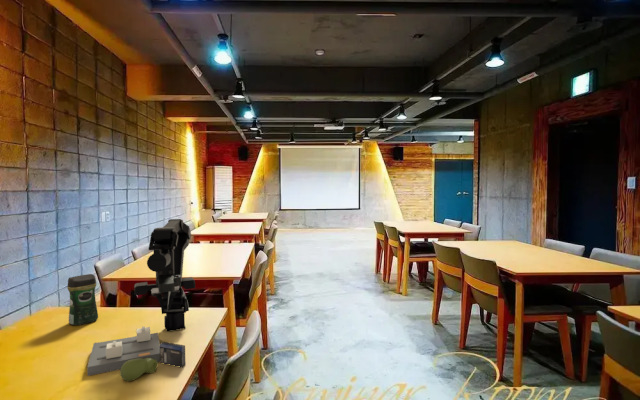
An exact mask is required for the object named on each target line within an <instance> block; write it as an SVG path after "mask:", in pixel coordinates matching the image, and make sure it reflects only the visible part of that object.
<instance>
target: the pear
mask: <svg viewBox="0 0 640 400" xmlns="http://www.w3.org/2000/svg"><path fill="white" fill-rule="evenodd" d="M158 365H159V362H157V361H156V359H152V358H145V359H142V358H138V359H131V360H128V361H126V362H125V363H124V364H123V365H122V367H121V369H120V370H119V371H120V372H119V375H120V376H121V378H122V380H124V381H126V382H131V381H134V380H137V379H138V378H140V377H141V376H142V375H143V374H145V373H148V374H154V373H156V371H157V368H158Z"/></svg>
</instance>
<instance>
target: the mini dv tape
mask: <svg viewBox="0 0 640 400" xmlns="http://www.w3.org/2000/svg"><path fill="white" fill-rule="evenodd" d="M159 344H160V362H159V364H161V363H164V364H163V365H166V364H170V365H169V366H171V365H175V366H174V367H176V366H180V367H179V368H181V367H182V368H183V366H184V367H185V366H186V365H187V364H186V363H187V362H186V345H183V344H178V343H173V342H167V341H162V342H159Z"/></svg>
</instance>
